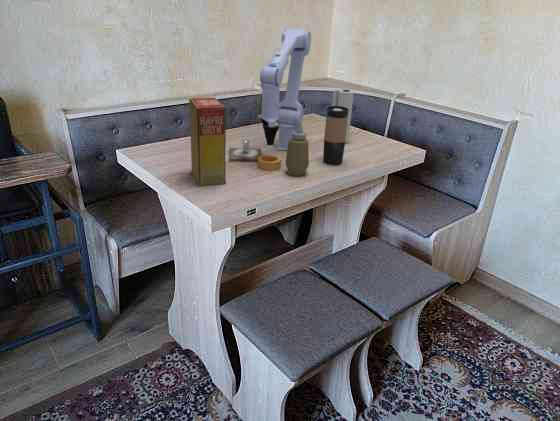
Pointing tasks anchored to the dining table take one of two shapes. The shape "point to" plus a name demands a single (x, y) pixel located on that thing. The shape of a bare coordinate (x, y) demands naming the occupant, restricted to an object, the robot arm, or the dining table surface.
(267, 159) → the wooden ring
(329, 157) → the travel mug
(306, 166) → the squeeze bottle
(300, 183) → the dining table surface
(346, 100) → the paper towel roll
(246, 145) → the steel shaft
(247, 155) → the walnut base plate
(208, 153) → the food packaging
